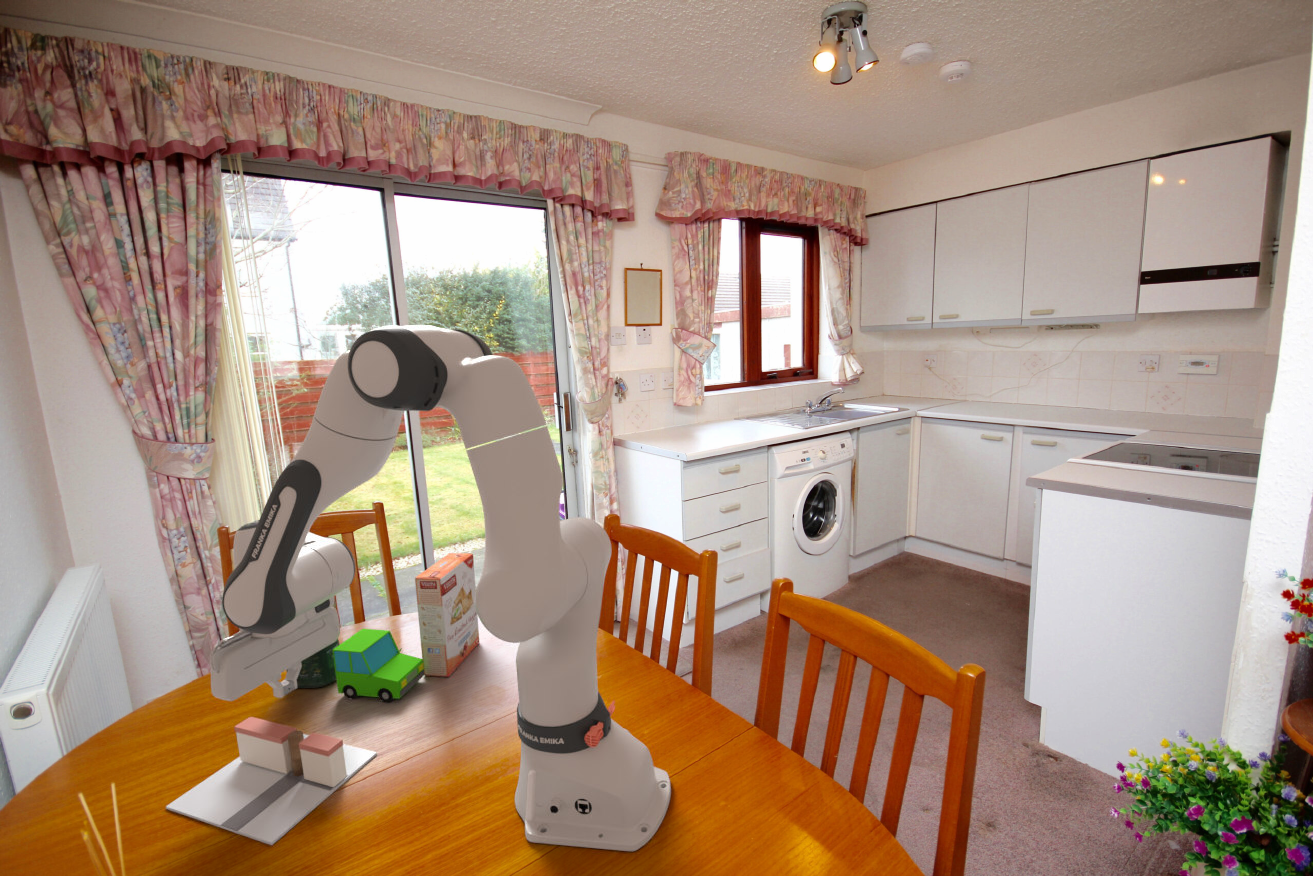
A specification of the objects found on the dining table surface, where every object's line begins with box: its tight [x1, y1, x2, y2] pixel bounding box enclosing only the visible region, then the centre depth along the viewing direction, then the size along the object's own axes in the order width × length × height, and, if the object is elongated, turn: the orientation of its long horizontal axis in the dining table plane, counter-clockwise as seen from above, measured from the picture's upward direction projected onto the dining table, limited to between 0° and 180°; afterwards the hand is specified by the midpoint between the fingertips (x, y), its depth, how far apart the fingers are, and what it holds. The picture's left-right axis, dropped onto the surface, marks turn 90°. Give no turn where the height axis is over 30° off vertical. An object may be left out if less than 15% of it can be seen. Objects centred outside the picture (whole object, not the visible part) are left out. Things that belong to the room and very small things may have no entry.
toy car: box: [333, 628, 425, 704], centre depth 111 cm, size 10×13×10 cm
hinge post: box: [288, 730, 304, 776], centre depth 90 cm, size 2×2×7 cm
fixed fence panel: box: [298, 732, 347, 787], centre depth 88 cm, size 6×3×6 cm, turn 71°
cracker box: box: [414, 552, 480, 678], centre depth 121 cm, size 14×6×21 cm, turn 172°
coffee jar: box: [286, 597, 341, 689], centre depth 115 cm, size 10×8×19 cm
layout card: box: [165, 733, 378, 846], centre depth 89 cm, size 21×18×1 cm
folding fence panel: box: [234, 716, 298, 774], centre depth 92 cm, size 10×3×6 cm, turn 71°
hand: (285, 692), depth 97 cm, fingers closed
